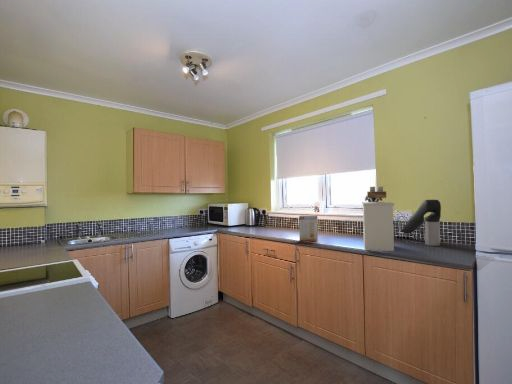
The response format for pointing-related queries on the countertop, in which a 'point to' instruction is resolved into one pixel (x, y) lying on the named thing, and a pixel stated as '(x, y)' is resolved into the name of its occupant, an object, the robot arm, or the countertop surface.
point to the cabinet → (378, 226)
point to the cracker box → (308, 228)
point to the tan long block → (376, 193)
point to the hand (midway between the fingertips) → (374, 193)
